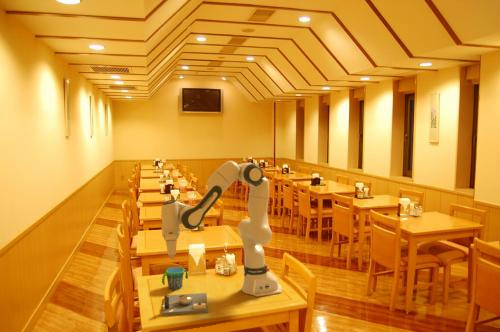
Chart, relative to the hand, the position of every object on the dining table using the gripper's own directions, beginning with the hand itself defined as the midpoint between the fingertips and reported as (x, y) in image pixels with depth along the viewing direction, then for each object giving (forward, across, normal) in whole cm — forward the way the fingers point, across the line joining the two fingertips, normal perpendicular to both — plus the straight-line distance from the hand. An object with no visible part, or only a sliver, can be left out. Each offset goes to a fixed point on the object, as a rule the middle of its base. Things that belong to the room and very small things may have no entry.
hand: (171, 258), depth 206 cm
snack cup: (+24, -21, +1) cm, 32 cm away
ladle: (+22, +6, +2) cm, 23 cm away
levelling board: (+24, +3, +6) cm, 25 cm away
